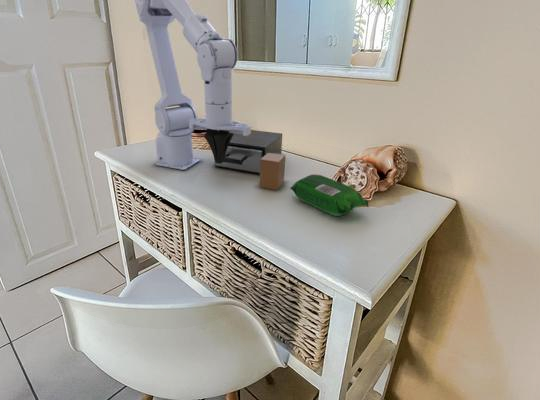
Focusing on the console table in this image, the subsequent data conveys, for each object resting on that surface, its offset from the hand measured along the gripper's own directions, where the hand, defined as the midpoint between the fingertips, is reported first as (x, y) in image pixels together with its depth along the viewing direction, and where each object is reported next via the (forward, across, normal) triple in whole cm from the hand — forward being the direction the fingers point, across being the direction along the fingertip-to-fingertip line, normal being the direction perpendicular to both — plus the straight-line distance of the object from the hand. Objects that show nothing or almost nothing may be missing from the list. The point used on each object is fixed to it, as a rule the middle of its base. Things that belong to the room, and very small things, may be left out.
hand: (219, 161), depth 77 cm
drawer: (+5, 0, -13) cm, 14 cm away
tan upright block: (+6, -11, -5) cm, 14 cm away
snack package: (+6, -25, 0) cm, 26 cm away
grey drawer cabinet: (+6, 0, -17) cm, 18 cm away
